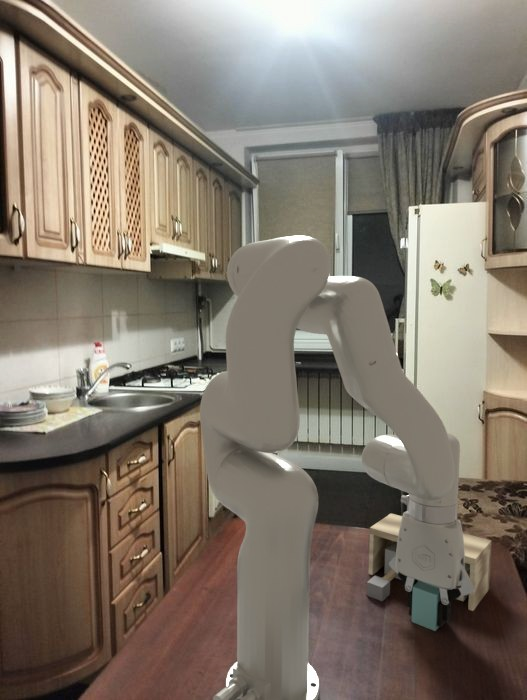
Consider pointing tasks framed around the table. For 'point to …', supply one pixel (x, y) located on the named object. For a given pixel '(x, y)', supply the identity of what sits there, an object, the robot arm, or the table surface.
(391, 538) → the birch shelf
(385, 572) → the grey block
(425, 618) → the teal and white dumbbell
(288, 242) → the robot arm
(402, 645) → the table surface
